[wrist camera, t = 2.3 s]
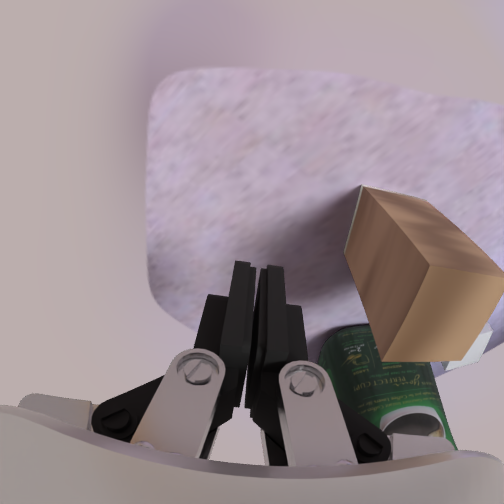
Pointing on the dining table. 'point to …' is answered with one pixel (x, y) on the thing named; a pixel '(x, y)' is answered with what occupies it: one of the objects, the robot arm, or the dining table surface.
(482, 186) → the dining table surface
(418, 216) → the tan block
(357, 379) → the coffee jar
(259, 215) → the dining table surface
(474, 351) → the grey cube
